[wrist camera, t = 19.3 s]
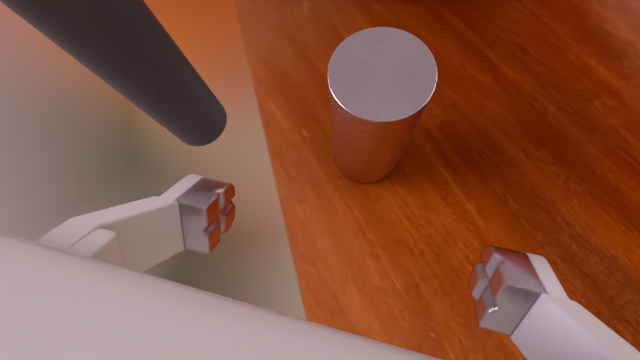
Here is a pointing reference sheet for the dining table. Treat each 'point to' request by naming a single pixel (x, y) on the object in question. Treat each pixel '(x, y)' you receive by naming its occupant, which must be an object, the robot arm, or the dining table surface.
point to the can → (377, 99)
